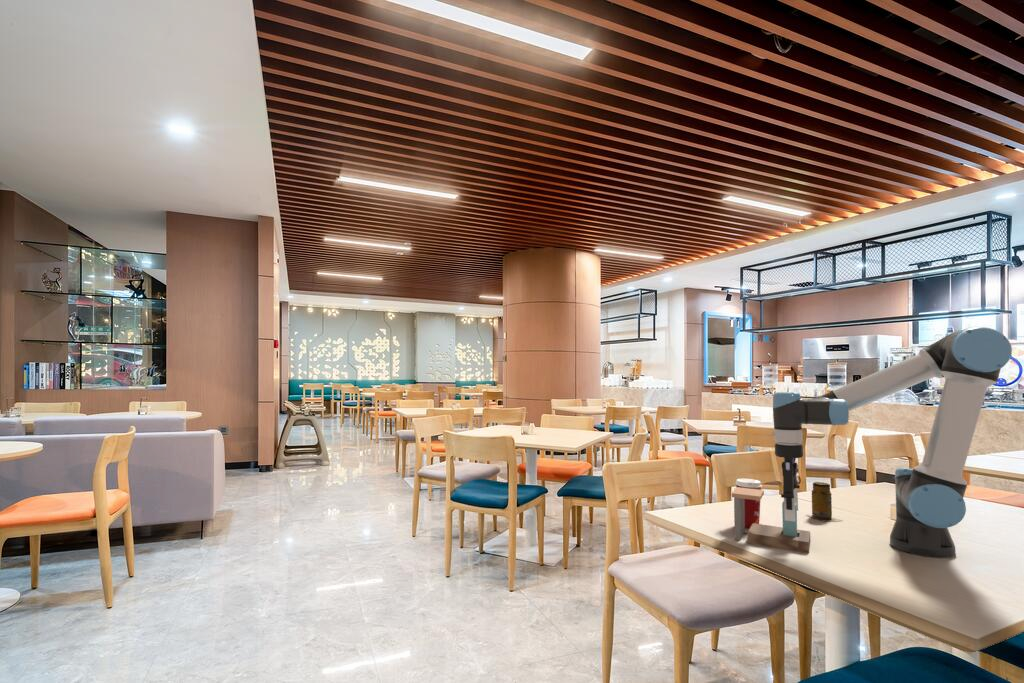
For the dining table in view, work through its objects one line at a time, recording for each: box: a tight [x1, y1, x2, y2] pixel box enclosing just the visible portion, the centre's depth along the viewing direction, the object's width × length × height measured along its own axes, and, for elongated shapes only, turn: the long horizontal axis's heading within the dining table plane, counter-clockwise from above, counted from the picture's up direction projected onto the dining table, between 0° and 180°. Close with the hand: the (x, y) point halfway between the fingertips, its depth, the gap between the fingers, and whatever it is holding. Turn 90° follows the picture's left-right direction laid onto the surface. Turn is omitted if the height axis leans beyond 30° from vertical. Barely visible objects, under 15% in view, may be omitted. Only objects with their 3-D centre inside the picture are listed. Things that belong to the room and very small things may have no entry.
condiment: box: [806, 481, 842, 523], centre depth 186 cm, size 7×8×12 cm
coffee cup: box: [734, 478, 763, 530], centre depth 176 cm, size 8×8×15 cm
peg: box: [781, 500, 798, 537], centre depth 158 cm, size 4×4×12 cm
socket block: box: [747, 523, 811, 554], centre depth 159 cm, size 16×12×3 cm
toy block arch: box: [731, 487, 765, 541], centre depth 164 cm, size 8×10×14 cm
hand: (791, 515), depth 158 cm, fingers open, 13 cm apart
